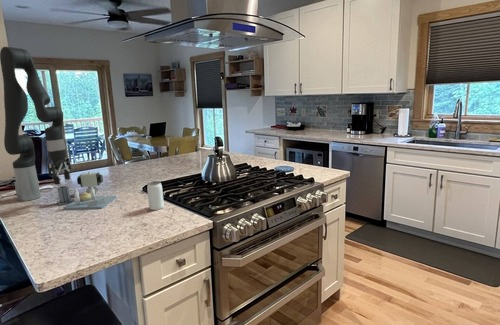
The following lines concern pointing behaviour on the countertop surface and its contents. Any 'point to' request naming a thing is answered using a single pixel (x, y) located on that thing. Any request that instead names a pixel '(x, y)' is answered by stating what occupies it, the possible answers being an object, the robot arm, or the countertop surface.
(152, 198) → the can
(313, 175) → the countertop surface
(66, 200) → the planet gear
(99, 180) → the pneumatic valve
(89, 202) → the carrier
